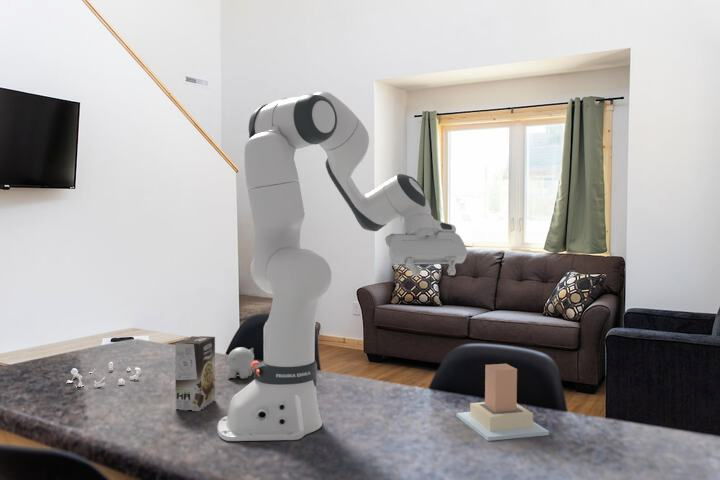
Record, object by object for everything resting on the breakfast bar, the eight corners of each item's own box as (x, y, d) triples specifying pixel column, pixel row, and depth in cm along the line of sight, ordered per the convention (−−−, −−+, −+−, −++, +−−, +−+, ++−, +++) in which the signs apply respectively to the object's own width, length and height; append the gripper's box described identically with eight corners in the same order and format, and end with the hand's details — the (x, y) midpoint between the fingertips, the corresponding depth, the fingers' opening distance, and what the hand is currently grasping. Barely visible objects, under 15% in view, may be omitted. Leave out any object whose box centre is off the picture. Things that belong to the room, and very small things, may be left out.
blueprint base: (487, 440, 126) (487, 422, 126) (456, 416, 142) (456, 399, 142) (548, 435, 130) (549, 416, 130) (512, 411, 145) (512, 395, 145)
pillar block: (495, 412, 133) (495, 370, 132) (485, 405, 137) (485, 364, 137) (516, 410, 134) (516, 369, 133) (505, 403, 139) (506, 363, 138)
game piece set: (50, 385, 169) (50, 371, 168) (106, 369, 187) (106, 356, 187) (104, 393, 161) (104, 379, 161) (157, 375, 179) (157, 362, 179)
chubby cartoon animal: (263, 370, 183) (263, 342, 183) (246, 381, 172) (246, 350, 171) (241, 369, 185) (241, 341, 185) (223, 379, 173) (222, 349, 173)
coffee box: (199, 411, 145) (199, 343, 144) (174, 410, 146) (173, 342, 146) (216, 400, 154) (216, 336, 153) (192, 399, 155) (192, 335, 154)
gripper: (386, 225, 159) (397, 266, 150) (460, 225, 164) (476, 265, 155) (381, 242, 163) (392, 283, 154) (453, 241, 168) (468, 281, 159)
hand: (434, 274), depth 155 cm, fingers open, 8 cm apart
